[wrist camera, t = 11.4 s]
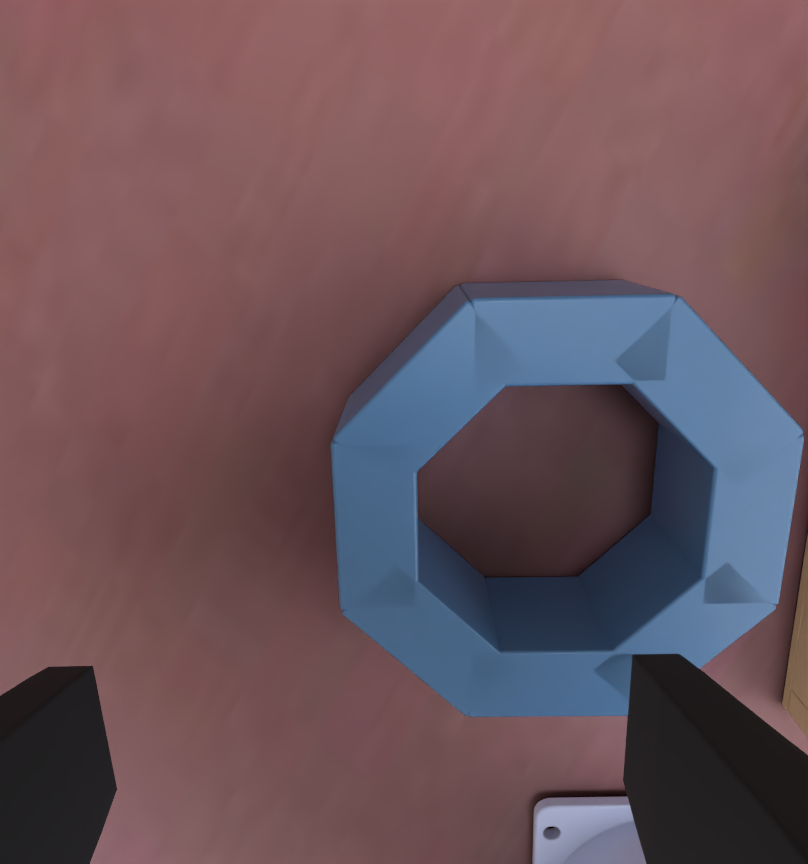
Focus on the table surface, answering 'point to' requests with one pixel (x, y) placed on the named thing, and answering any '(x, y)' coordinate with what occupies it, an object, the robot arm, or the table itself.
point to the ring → (621, 565)
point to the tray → (799, 658)
